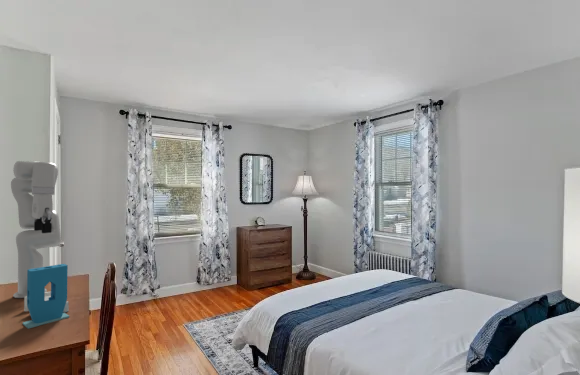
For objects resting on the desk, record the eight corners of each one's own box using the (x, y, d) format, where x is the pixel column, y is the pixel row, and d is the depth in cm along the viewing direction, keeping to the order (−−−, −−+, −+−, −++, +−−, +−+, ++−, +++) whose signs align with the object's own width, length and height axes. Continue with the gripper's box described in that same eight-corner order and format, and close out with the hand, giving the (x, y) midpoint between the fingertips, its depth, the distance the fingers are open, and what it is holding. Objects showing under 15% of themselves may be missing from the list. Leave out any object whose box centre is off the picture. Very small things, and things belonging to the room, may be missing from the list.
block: (30, 325, 115) (30, 271, 116) (26, 322, 118) (26, 269, 119) (67, 315, 125) (68, 265, 125) (63, 312, 128) (63, 263, 128)
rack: (24, 311, 131) (24, 296, 131) (55, 303, 140) (55, 290, 140) (35, 319, 122) (35, 304, 122) (68, 311, 131) (68, 297, 131)
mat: (22, 323, 118) (22, 322, 118) (62, 313, 129) (62, 311, 129) (28, 328, 114) (28, 327, 114) (69, 317, 124) (69, 315, 124)
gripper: (26, 190, 134) (25, 230, 134) (38, 192, 123) (38, 235, 123) (47, 190, 140) (46, 228, 140) (61, 192, 129) (60, 233, 129)
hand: (42, 231), depth 132 cm, fingers open, 9 cm apart
